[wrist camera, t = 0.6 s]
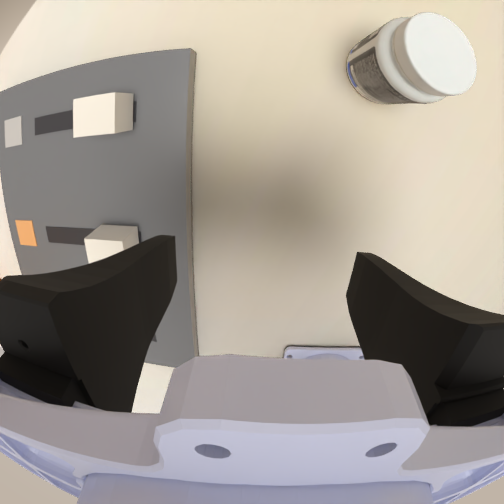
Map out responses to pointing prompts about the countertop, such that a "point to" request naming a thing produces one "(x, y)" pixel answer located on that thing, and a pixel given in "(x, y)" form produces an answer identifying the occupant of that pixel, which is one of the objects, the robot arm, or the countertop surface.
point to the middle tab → (110, 241)
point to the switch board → (105, 174)
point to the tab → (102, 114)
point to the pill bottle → (413, 61)
